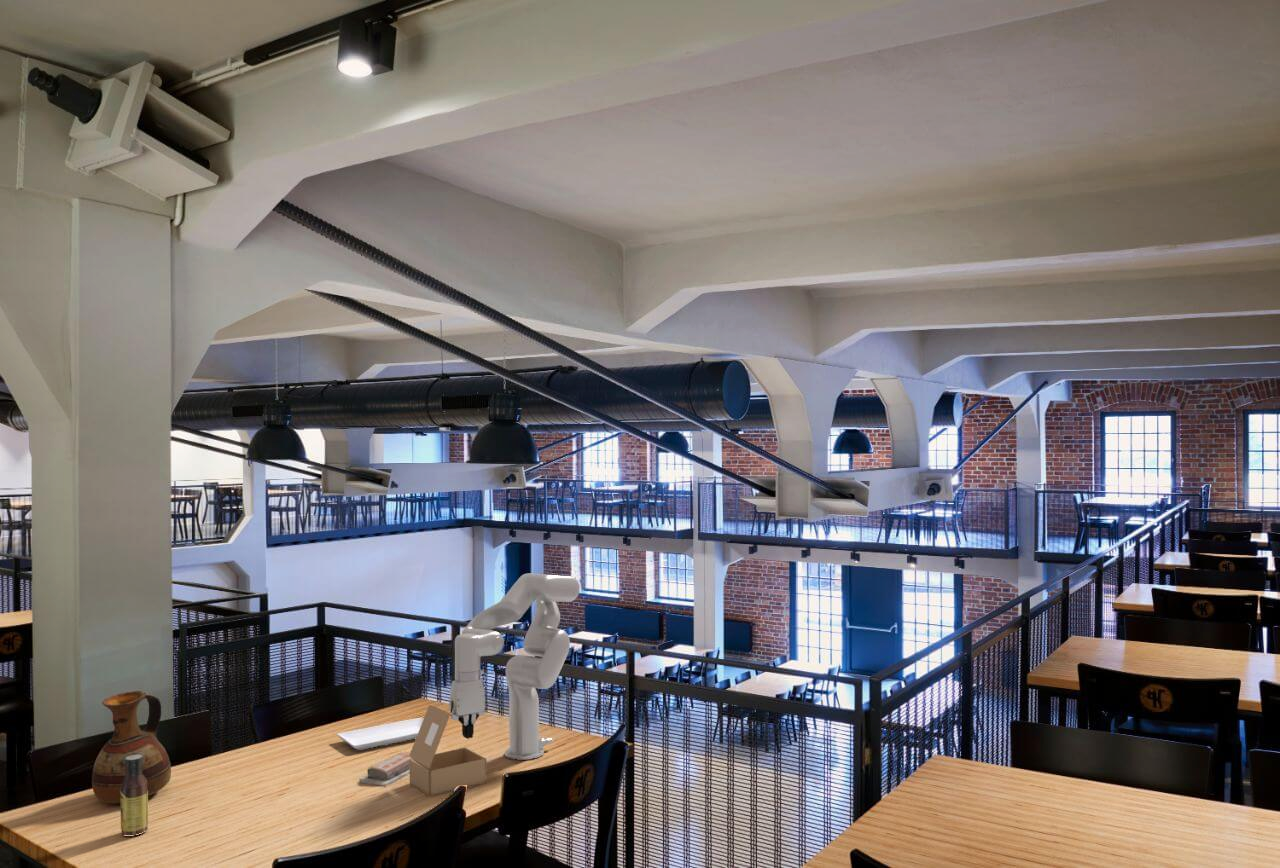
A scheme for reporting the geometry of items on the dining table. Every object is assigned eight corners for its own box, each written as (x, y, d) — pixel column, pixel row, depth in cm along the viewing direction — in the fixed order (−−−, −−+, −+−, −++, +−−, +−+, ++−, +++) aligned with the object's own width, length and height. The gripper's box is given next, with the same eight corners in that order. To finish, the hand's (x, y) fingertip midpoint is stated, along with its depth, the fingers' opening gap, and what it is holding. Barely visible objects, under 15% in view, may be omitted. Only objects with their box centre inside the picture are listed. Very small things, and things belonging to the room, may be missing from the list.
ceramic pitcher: (75, 804, 262) (75, 697, 263) (136, 781, 281) (136, 681, 282) (127, 812, 255) (127, 703, 256) (186, 788, 274) (186, 685, 275)
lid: (434, 706, 281) (429, 704, 280) (454, 715, 270) (448, 714, 269) (414, 757, 276) (408, 756, 275) (433, 769, 265) (427, 768, 264)
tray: (442, 737, 322) (442, 727, 322) (353, 755, 303) (353, 745, 303) (422, 726, 336) (422, 716, 336) (335, 743, 317) (335, 733, 317)
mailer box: (465, 770, 286) (465, 747, 286) (486, 782, 275) (486, 758, 275) (409, 783, 276) (409, 759, 276) (429, 796, 264) (429, 771, 264)
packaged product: (396, 749, 294) (422, 753, 290) (396, 765, 294) (422, 768, 290) (358, 767, 277) (385, 771, 273) (358, 784, 277) (386, 788, 273)
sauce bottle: (127, 829, 244) (127, 752, 244) (152, 828, 244) (152, 751, 245) (115, 839, 237) (115, 760, 238) (141, 838, 238) (141, 759, 238)
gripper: (484, 670, 288) (484, 730, 287) (439, 677, 279) (439, 739, 278) (495, 674, 282) (496, 735, 281) (450, 681, 273) (450, 745, 272)
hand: (467, 737), depth 279 cm, fingers closed
